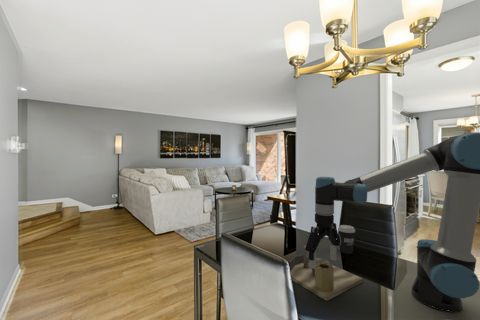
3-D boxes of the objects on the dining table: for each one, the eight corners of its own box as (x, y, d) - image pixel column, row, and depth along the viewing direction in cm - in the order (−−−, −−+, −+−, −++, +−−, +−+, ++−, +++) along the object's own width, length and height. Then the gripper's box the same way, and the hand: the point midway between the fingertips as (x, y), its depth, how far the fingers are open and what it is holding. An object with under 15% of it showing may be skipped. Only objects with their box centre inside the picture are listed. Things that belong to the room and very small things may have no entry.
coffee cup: (339, 254, 135) (339, 228, 135) (336, 248, 144) (336, 224, 144) (357, 255, 133) (357, 229, 133) (353, 249, 142) (353, 225, 142)
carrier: (362, 281, 105) (362, 255, 105) (326, 301, 90) (326, 270, 90) (313, 259, 128) (313, 237, 128) (278, 272, 113) (278, 247, 113)
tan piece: (336, 288, 96) (336, 267, 96) (325, 294, 92) (326, 271, 92) (322, 281, 102) (322, 261, 102) (311, 286, 98) (311, 265, 98)
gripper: (334, 208, 107) (333, 254, 107) (296, 215, 93) (295, 267, 94) (349, 212, 101) (348, 260, 101) (311, 219, 87) (310, 275, 87)
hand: (323, 263), depth 97 cm, fingers open, 13 cm apart
